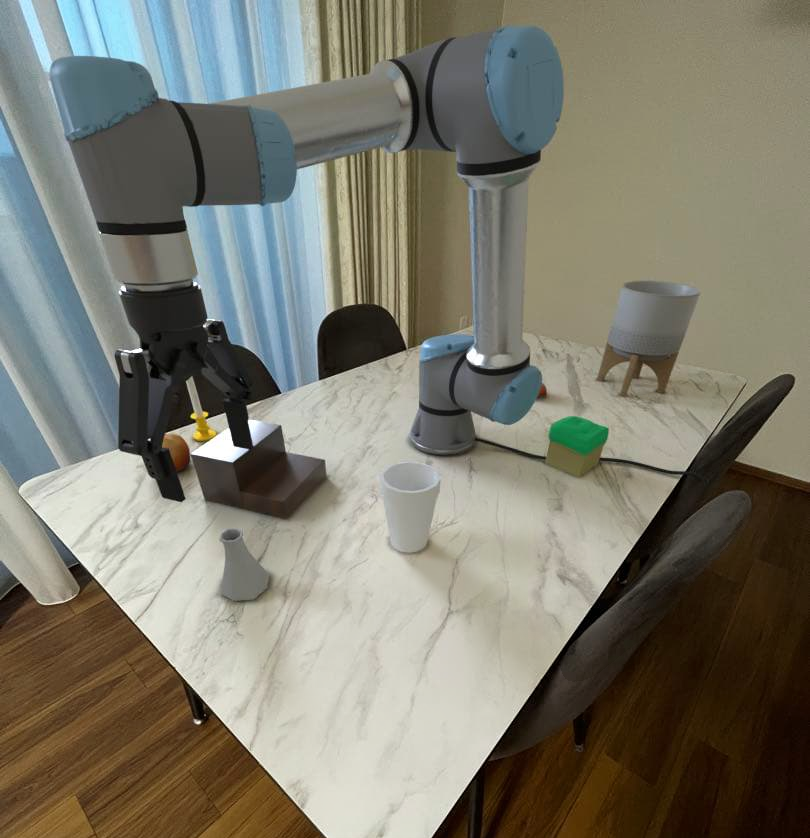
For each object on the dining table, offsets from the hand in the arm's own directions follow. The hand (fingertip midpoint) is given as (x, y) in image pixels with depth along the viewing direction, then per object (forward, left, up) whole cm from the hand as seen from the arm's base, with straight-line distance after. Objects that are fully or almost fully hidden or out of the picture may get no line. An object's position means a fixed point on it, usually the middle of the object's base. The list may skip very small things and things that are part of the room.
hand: (211, 470), depth 59 cm
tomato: (-31, -92, -21) cm, 99 cm away
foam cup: (-20, -19, -21) cm, 35 cm away
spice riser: (+12, -25, -20) cm, 34 cm away
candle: (+38, -39, -21) cm, 58 cm away
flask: (0, 0, -21) cm, 21 cm away
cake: (-44, -57, -21) cm, 75 cm away
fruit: (+35, -25, -21) cm, 48 cm away
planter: (-57, -110, -21) cm, 126 cm away
